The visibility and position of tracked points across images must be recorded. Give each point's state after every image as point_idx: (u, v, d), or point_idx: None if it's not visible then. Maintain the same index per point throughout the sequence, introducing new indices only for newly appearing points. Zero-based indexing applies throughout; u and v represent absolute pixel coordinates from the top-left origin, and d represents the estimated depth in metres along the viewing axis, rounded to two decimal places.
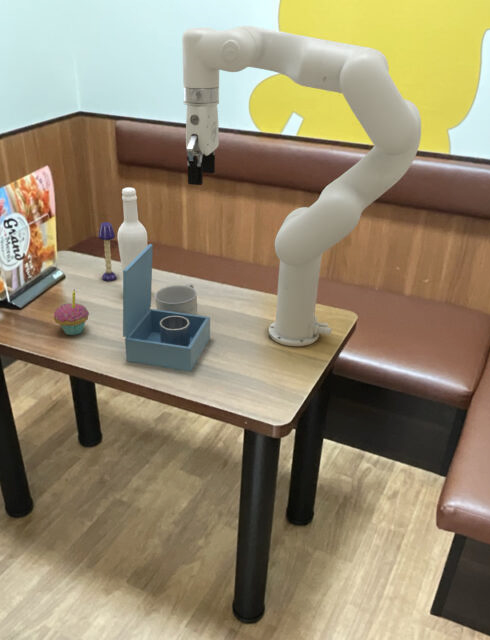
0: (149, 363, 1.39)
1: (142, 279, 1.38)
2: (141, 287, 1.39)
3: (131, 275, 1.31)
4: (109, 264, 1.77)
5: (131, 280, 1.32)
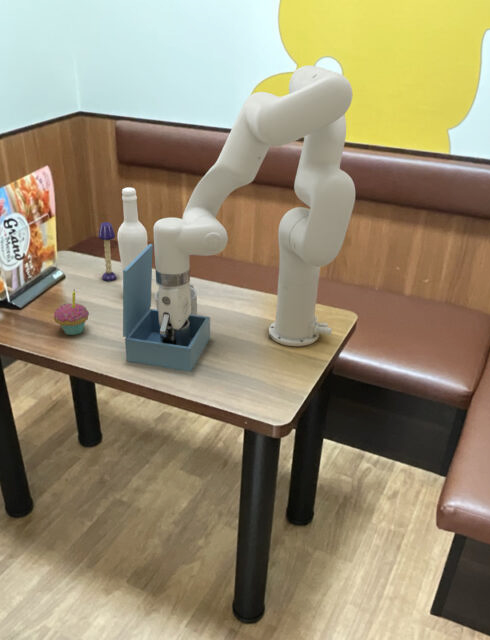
0: (149, 363, 1.39)
1: (142, 279, 1.38)
2: (141, 287, 1.39)
3: (131, 275, 1.31)
4: (109, 264, 1.77)
5: (131, 280, 1.32)
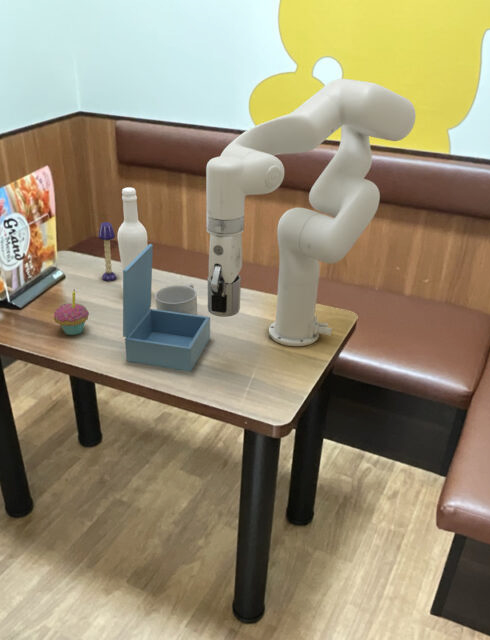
0: (149, 363, 1.39)
1: (142, 279, 1.38)
2: (141, 287, 1.39)
3: (131, 275, 1.31)
4: (109, 264, 1.77)
5: (131, 280, 1.32)
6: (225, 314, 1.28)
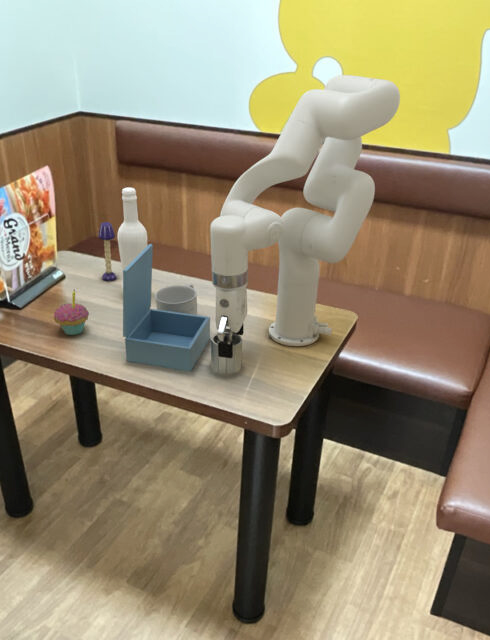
0: (149, 363, 1.39)
1: (142, 279, 1.38)
2: (141, 287, 1.39)
3: (131, 275, 1.31)
4: (109, 264, 1.77)
5: (131, 280, 1.32)
6: (227, 373, 1.36)
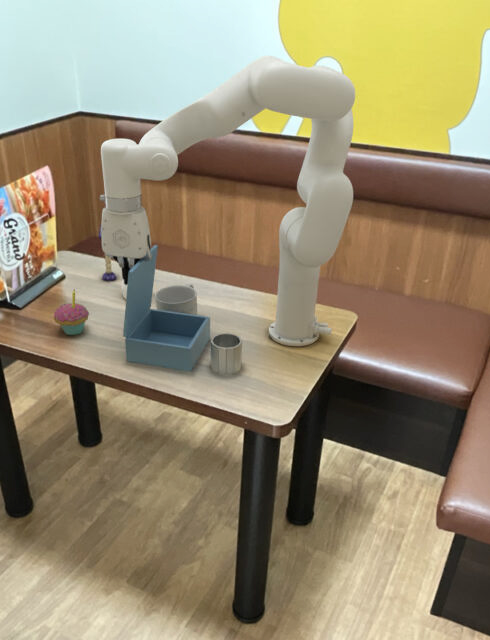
0: (149, 363, 1.39)
1: (145, 280, 1.38)
2: (144, 288, 1.39)
3: (136, 276, 1.31)
4: (109, 264, 1.77)
5: (135, 281, 1.31)
6: None
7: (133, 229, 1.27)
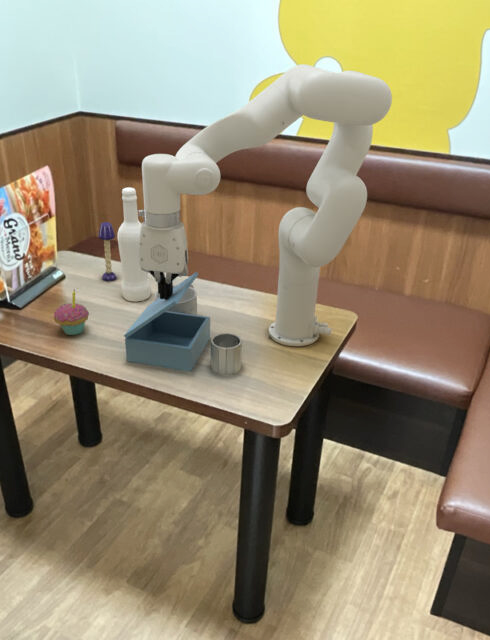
0: (149, 363, 1.39)
1: None
2: None
3: None
4: (109, 264, 1.77)
5: None
6: None
7: (172, 244, 1.27)
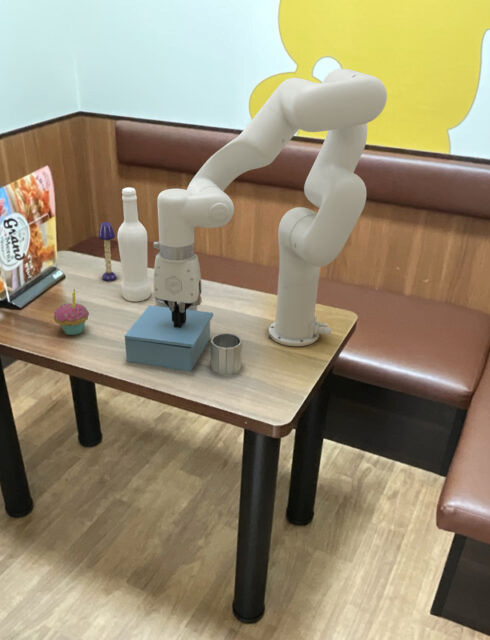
0: (149, 363, 1.39)
1: None
2: None
3: None
4: (109, 264, 1.77)
5: None
6: None
7: (186, 276, 1.30)
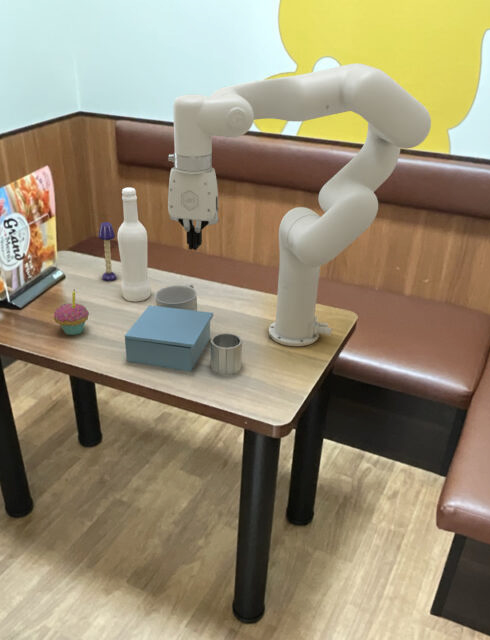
0: (149, 363, 1.39)
1: None
2: None
3: None
4: (109, 264, 1.77)
5: None
6: None
7: (203, 189, 1.24)
